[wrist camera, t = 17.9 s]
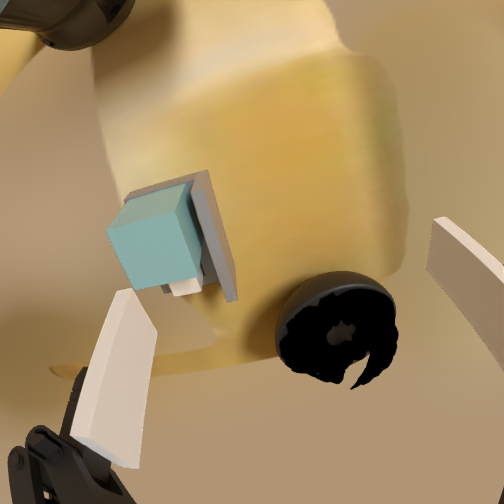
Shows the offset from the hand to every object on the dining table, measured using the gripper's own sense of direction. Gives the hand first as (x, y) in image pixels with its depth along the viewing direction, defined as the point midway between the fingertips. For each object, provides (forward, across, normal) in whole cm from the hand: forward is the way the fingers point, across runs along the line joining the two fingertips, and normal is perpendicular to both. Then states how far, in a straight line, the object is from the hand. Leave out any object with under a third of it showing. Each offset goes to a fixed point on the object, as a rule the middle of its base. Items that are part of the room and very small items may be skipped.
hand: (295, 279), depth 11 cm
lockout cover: (+26, -12, -6) cm, 29 cm away
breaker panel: (+29, -12, -10) cm, 33 cm away
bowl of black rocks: (+29, +8, -28) cm, 41 cm away
